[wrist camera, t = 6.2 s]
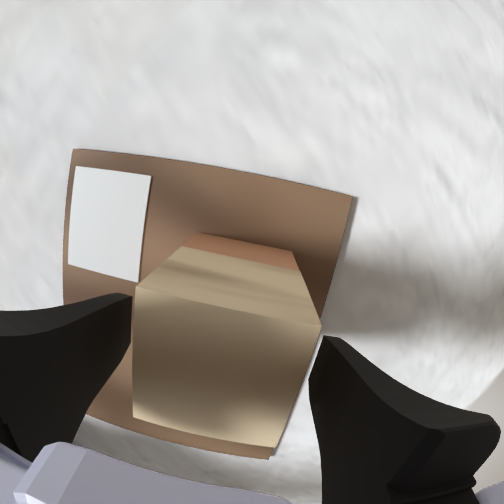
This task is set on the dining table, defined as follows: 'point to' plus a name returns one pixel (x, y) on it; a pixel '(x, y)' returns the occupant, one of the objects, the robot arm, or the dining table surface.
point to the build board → (174, 236)
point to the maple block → (221, 346)
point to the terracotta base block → (242, 250)
